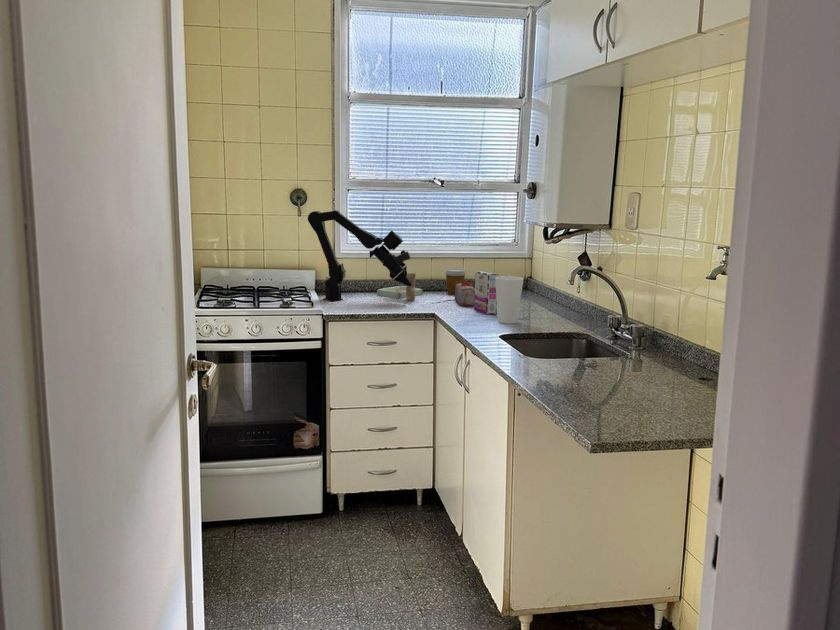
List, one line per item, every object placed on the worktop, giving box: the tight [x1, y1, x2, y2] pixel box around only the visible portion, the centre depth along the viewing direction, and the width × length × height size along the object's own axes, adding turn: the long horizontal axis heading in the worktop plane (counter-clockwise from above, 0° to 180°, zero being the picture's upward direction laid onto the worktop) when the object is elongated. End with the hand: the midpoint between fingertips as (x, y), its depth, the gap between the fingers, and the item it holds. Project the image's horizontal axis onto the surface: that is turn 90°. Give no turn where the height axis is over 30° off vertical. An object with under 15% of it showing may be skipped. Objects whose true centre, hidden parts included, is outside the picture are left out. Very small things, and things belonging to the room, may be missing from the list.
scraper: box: [405, 271, 416, 302], centre depth 330 cm, size 4×7×13 cm, turn 177°
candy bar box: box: [473, 270, 499, 315], centre depth 312 cm, size 11×5×16 cm, turn 25°
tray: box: [376, 285, 424, 299], centre depth 345 cm, size 16×13×4 cm
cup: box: [495, 275, 525, 325], centre depth 292 cm, size 11×10×17 cm
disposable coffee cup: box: [444, 268, 467, 296], centre depth 350 cm, size 10×10×12 cm
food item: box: [454, 281, 475, 307], centre depth 330 cm, size 14×8×10 cm, turn 14°
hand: (411, 284), depth 329 cm, fingers open, 9 cm apart
